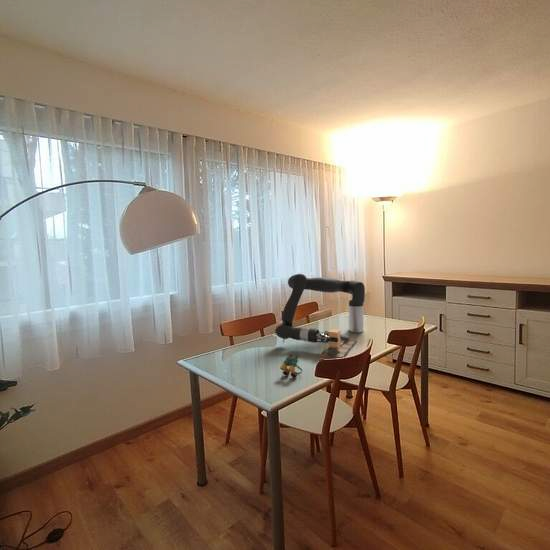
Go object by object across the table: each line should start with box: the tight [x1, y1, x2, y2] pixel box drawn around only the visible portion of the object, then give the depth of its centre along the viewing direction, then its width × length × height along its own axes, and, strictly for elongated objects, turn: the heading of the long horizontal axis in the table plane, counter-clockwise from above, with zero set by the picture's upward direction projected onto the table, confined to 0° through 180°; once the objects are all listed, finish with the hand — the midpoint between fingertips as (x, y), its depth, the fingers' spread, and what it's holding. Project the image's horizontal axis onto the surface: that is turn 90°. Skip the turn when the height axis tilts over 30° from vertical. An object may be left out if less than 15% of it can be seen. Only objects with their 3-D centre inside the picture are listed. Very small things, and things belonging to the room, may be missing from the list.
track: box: [319, 334, 357, 359], centre depth 182 cm, size 30×12×4 cm, turn 152°
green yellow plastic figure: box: [279, 352, 303, 378], centre depth 150 cm, size 9×9×10 cm
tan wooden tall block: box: [328, 329, 341, 350], centre depth 174 cm, size 5×5×10 cm
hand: (339, 338), depth 173 cm, fingers closed on tan wooden tall block, 5 cm apart
